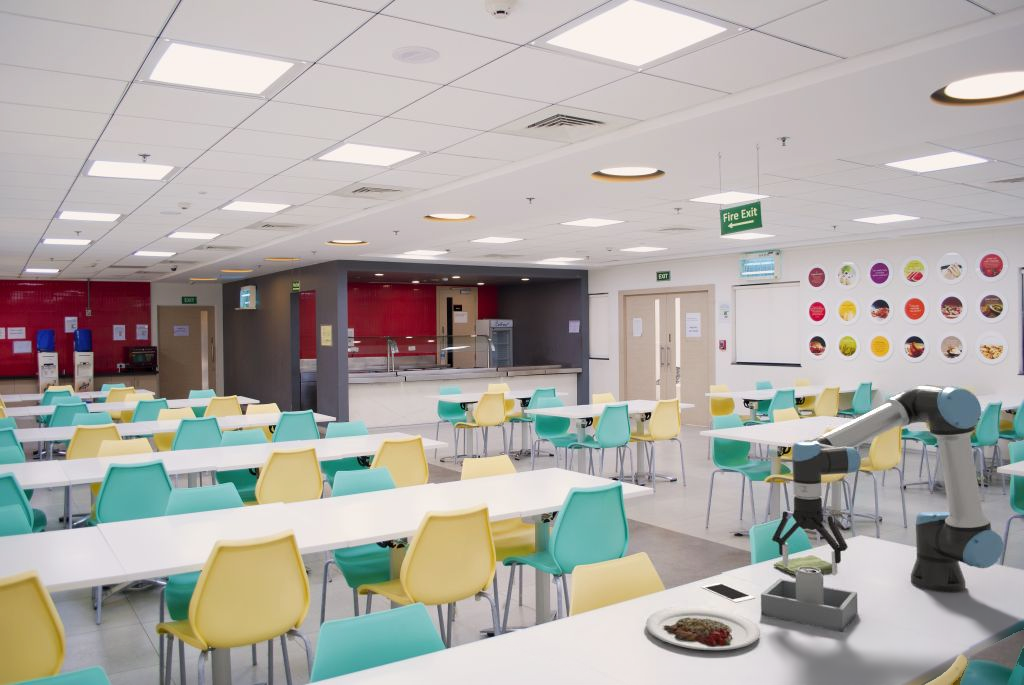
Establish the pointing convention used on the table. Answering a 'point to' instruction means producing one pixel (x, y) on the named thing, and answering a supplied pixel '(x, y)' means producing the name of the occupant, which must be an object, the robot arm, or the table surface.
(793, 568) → the washcloth
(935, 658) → the table surface
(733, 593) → the cell phone
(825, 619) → the bin
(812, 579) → the can
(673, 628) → the plated food
